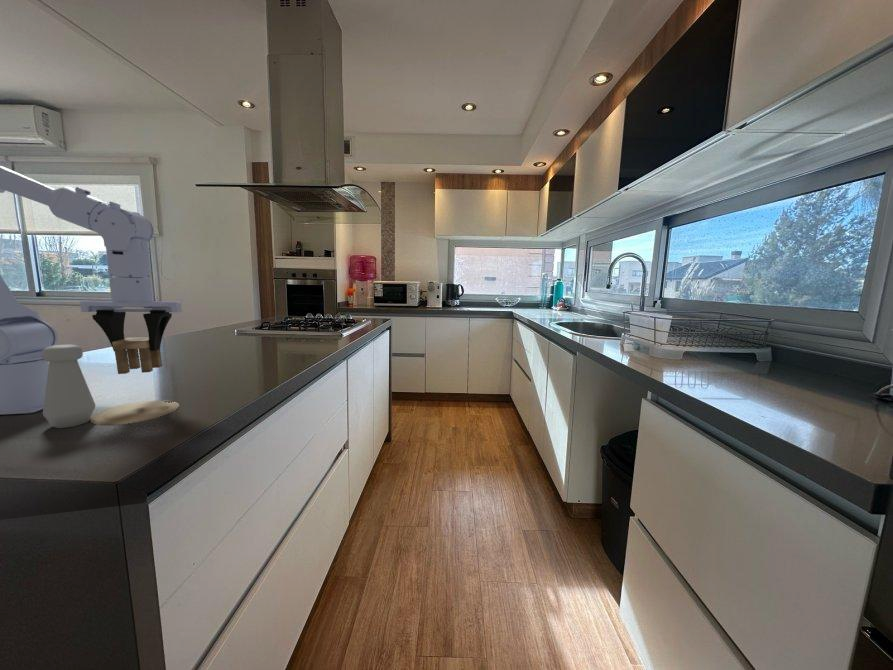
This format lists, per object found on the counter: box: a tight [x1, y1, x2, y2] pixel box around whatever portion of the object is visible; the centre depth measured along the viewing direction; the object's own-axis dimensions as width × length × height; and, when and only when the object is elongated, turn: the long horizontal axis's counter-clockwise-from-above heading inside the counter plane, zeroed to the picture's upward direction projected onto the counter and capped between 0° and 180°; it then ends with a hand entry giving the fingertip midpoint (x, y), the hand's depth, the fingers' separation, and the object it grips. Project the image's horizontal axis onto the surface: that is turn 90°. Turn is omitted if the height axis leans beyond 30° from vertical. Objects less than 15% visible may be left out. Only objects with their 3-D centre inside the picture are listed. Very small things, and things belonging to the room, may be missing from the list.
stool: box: [112, 336, 163, 375], centre depth 66 cm, size 5×5×6 cm
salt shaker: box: [42, 343, 96, 429], centre depth 56 cm, size 6×6×13 cm
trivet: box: [89, 400, 180, 426], centre depth 62 cm, size 12×12×1 cm
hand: (137, 350), depth 65 cm, fingers closed on stool, 5 cm apart
